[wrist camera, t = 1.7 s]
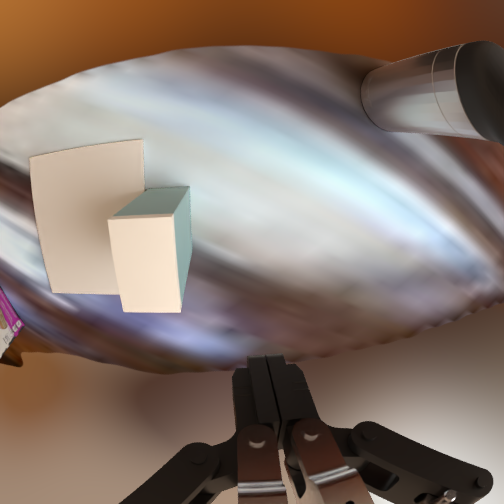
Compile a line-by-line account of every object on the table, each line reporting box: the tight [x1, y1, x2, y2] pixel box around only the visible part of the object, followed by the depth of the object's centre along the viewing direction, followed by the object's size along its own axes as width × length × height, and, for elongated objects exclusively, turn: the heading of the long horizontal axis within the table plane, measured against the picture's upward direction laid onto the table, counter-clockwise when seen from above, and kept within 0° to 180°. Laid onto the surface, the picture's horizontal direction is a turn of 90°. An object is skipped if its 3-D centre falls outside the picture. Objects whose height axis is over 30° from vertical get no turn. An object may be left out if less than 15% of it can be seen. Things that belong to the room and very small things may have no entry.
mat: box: [29, 139, 145, 294], centre depth 32 cm, size 17×20×1 cm
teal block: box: [108, 187, 192, 312], centre depth 27 cm, size 5×8×14 cm, turn 179°
